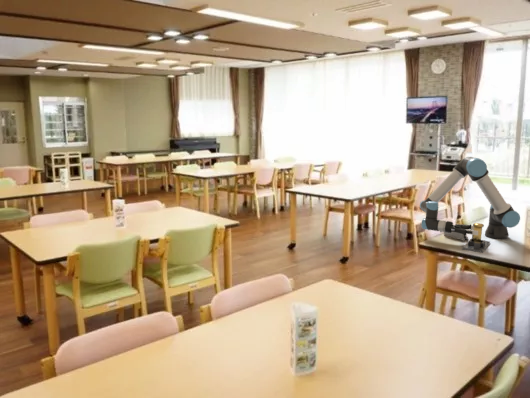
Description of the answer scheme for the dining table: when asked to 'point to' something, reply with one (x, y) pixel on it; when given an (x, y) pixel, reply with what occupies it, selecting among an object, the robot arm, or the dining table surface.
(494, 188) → the robot arm
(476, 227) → the coupler
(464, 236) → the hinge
